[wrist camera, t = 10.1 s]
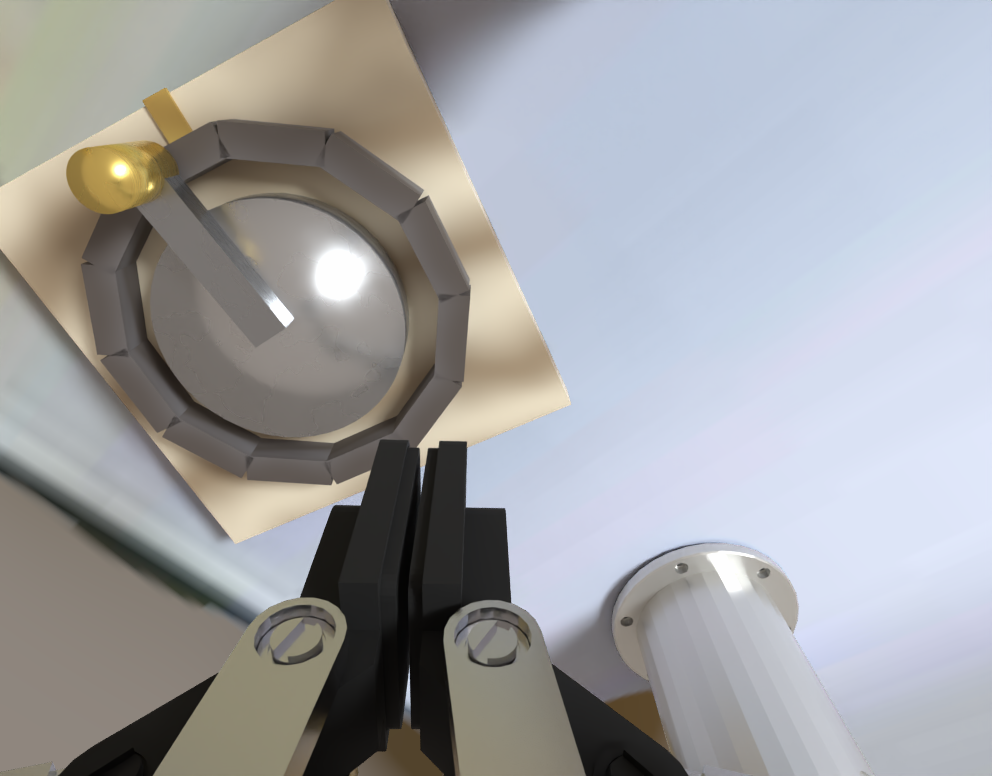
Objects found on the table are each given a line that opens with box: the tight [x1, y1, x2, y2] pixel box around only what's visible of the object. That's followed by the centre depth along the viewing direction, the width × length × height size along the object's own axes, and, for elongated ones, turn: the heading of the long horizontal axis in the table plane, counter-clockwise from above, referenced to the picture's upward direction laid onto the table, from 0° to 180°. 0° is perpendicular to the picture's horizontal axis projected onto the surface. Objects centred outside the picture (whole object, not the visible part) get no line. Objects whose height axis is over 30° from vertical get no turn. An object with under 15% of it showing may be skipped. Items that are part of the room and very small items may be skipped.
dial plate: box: [0, 0, 571, 544], centre depth 32 cm, size 22×22×4 cm
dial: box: [66, 140, 409, 437], centre depth 29 cm, size 16×12×6 cm
